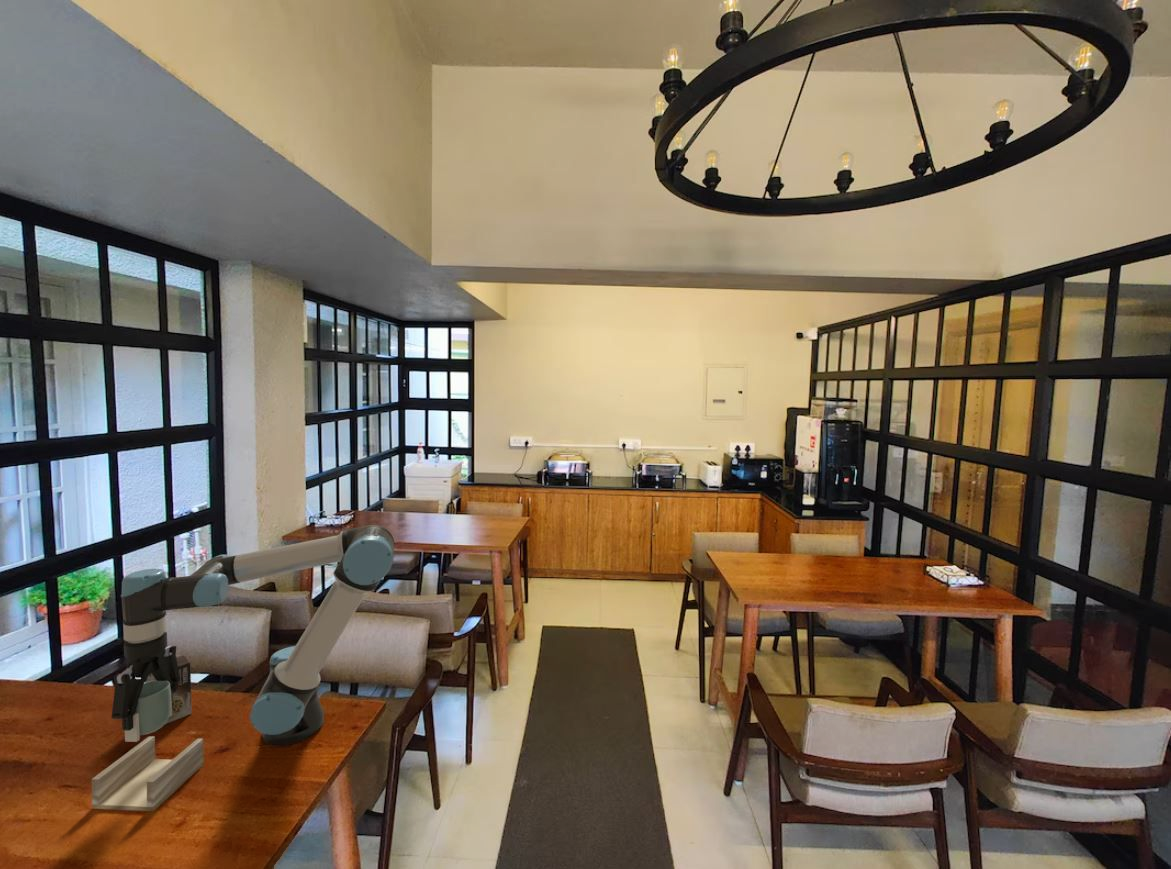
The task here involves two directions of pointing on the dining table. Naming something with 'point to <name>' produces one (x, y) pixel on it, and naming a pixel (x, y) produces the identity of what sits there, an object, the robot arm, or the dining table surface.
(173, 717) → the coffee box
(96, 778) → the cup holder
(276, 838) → the dining table surface
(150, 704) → the cup
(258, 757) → the dining table surface
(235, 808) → the dining table surface
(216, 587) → the robot arm
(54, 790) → the dining table surface
